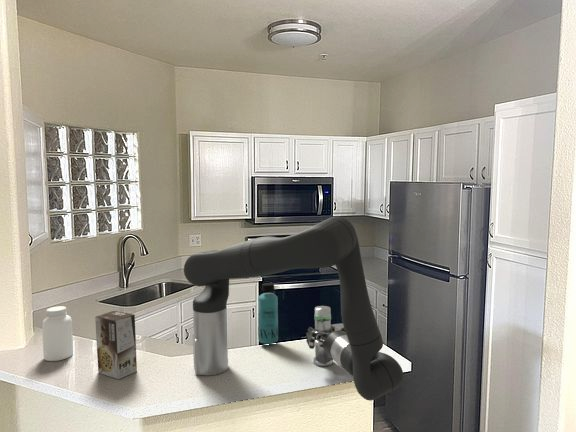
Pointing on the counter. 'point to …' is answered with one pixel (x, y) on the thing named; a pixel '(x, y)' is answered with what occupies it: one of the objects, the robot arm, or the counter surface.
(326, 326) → the clear glass cylinder
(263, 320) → the beverage bottle
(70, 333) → the pill bottle
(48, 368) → the counter surface
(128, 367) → the coffee box
